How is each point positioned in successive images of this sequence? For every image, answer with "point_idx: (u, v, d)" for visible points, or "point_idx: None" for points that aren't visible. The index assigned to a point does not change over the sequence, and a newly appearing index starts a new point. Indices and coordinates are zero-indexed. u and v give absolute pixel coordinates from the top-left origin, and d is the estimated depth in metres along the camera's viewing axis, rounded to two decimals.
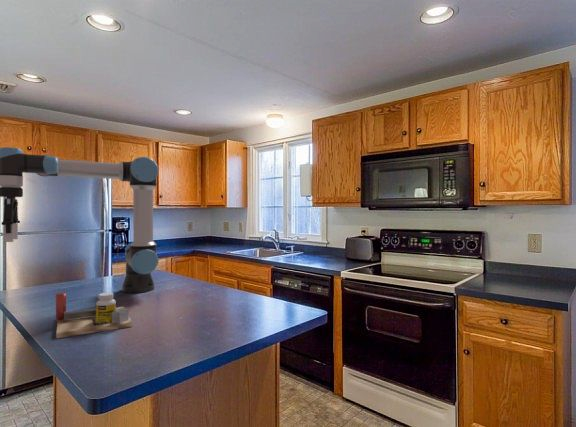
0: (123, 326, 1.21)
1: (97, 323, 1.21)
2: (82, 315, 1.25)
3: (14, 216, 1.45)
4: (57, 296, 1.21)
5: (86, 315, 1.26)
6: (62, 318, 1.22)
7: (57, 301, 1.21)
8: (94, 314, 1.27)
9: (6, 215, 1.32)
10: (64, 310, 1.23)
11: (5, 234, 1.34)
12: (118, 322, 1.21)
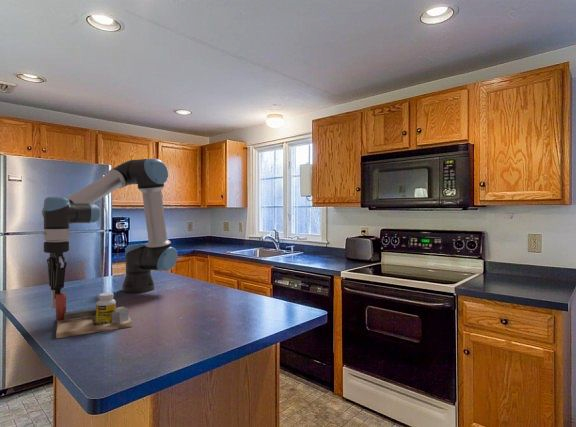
0: (123, 326, 1.21)
1: (97, 323, 1.21)
2: (82, 315, 1.25)
3: None
4: (57, 296, 1.21)
5: (86, 315, 1.26)
6: (62, 318, 1.22)
7: (57, 301, 1.21)
8: (94, 314, 1.27)
9: (59, 281, 1.22)
10: (64, 310, 1.22)
11: (53, 300, 1.24)
12: (118, 322, 1.21)
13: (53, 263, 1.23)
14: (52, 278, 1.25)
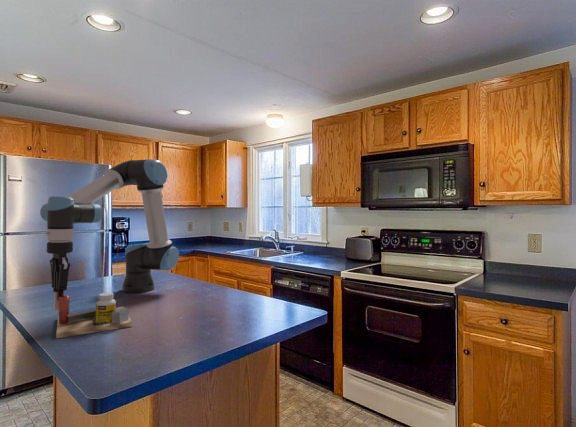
0: (123, 326, 1.21)
1: (97, 323, 1.21)
2: (85, 316, 1.24)
3: None
4: (62, 298, 1.18)
5: (89, 316, 1.25)
6: (67, 321, 1.19)
7: (61, 304, 1.18)
8: None
9: (62, 283, 1.18)
10: (68, 313, 1.19)
11: (56, 302, 1.20)
12: (118, 322, 1.21)
13: (56, 264, 1.19)
14: (55, 279, 1.21)
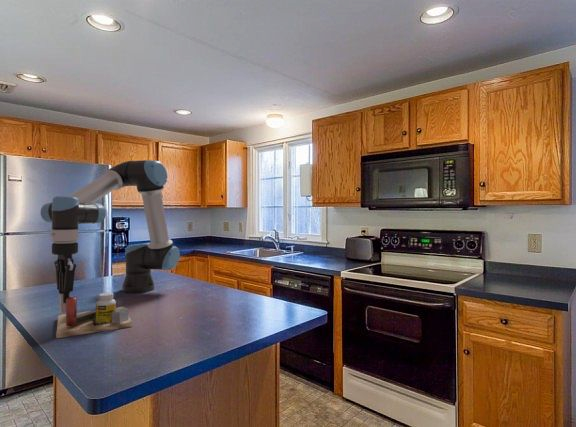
0: (123, 326, 1.21)
1: (97, 323, 1.21)
2: (90, 317, 1.23)
3: None
4: (71, 300, 1.16)
5: (93, 316, 1.24)
6: (75, 322, 1.17)
7: (71, 305, 1.16)
8: None
9: (68, 284, 1.16)
10: (76, 314, 1.18)
11: (62, 304, 1.18)
12: (118, 322, 1.21)
13: (62, 265, 1.17)
14: (60, 281, 1.19)
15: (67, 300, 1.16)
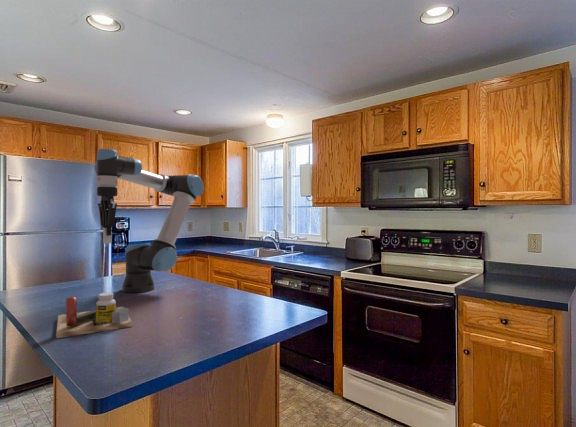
0: (123, 326, 1.21)
1: (97, 323, 1.21)
2: (90, 317, 1.23)
3: None
4: (71, 300, 1.16)
5: (93, 316, 1.24)
6: (75, 322, 1.17)
7: (71, 305, 1.16)
8: None
9: (110, 219, 1.44)
10: (76, 314, 1.18)
11: (105, 236, 1.46)
12: (118, 322, 1.21)
13: (105, 205, 1.45)
14: (104, 218, 1.47)
15: (67, 300, 1.16)
